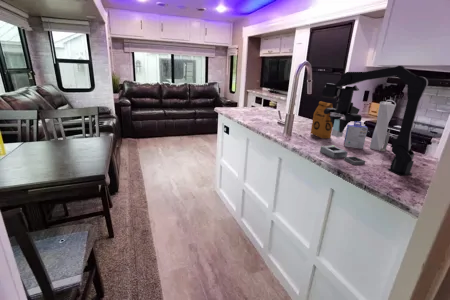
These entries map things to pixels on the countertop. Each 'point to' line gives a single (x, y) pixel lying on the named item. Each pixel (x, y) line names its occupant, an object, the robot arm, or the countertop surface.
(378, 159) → the countertop surface
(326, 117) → the coffee package
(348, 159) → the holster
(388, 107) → the skyscraper
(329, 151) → the socket
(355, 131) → the ink cartridge box
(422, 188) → the countertop surface
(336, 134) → the plug
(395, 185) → the countertop surface
